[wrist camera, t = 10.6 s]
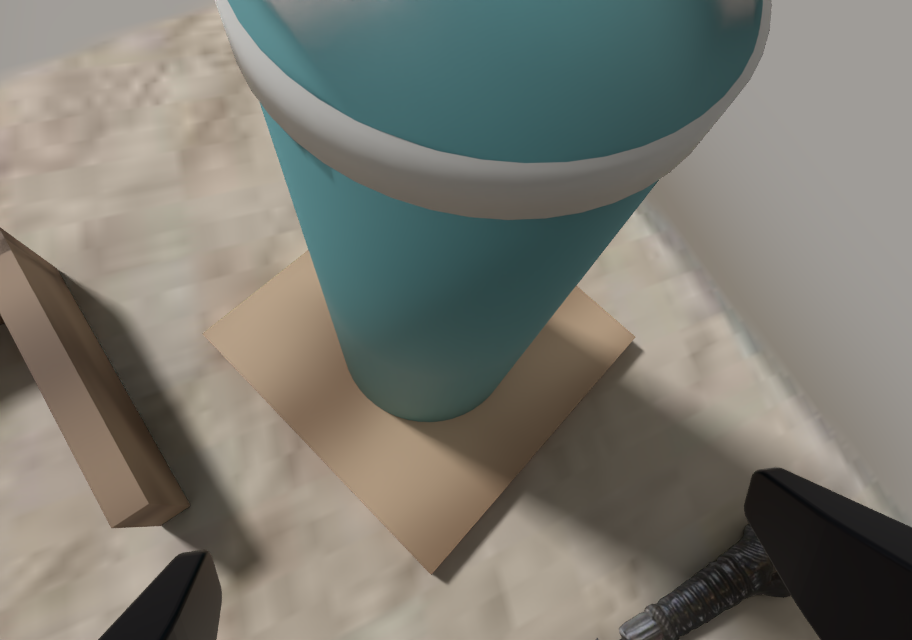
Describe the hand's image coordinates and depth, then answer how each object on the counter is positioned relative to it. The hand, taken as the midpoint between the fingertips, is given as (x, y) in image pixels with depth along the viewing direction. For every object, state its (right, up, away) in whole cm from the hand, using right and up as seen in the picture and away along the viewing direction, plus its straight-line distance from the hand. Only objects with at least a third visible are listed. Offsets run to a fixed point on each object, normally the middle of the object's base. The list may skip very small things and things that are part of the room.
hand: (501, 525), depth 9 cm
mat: (-2, +3, +11) cm, 11 cm away
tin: (-2, +3, +10) cm, 11 cm away
